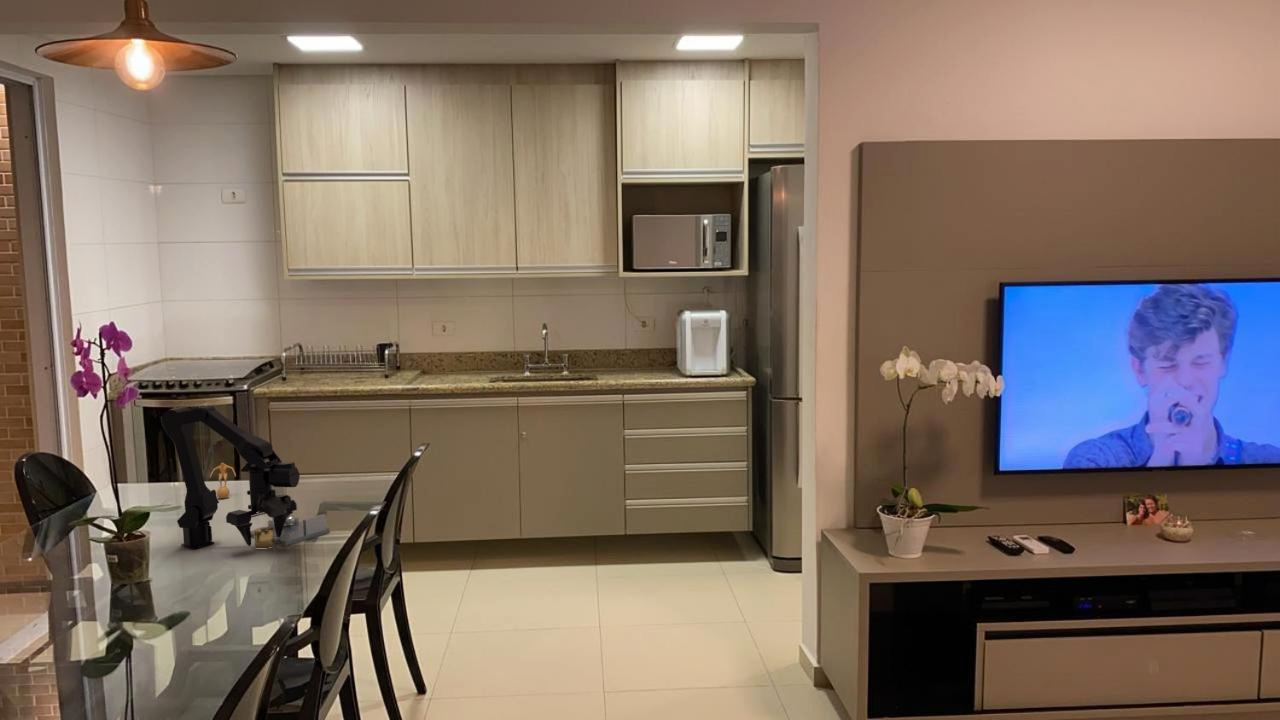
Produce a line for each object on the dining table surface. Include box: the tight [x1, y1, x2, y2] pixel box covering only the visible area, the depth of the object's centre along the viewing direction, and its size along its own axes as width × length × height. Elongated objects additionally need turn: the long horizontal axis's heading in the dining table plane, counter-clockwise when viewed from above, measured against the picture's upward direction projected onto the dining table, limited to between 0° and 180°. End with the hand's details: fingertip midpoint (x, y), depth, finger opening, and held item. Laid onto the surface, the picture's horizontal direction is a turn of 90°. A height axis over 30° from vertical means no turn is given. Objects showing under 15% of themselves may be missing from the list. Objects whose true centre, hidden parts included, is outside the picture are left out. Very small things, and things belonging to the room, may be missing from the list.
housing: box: [253, 526, 275, 549], centre depth 262 cm, size 5×5×5 cm
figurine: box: [209, 462, 237, 500], centre depth 318 cm, size 8×6×12 cm
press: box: [250, 513, 331, 546], centre depth 273 cm, size 15×18×6 cm
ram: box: [271, 495, 297, 526], centre depth 278 cm, size 4×7×8 cm, turn 56°
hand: (264, 541), depth 262 cm, fingers open, 9 cm apart
